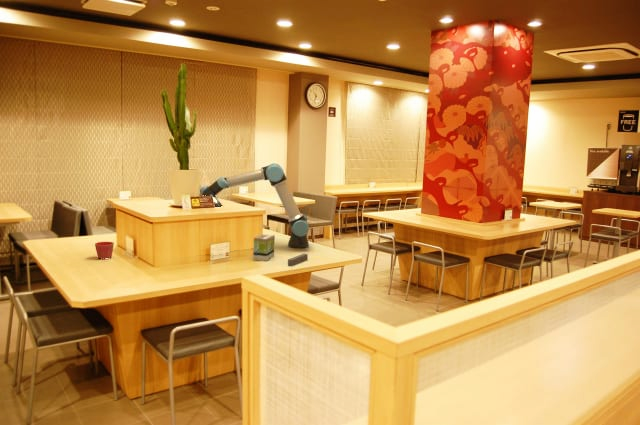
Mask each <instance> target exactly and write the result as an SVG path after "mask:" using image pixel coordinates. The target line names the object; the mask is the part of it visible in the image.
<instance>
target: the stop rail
mask: <svg viewBox="0 0 640 425" xmlns="http://www.w3.org/2000/svg"><path fill="white" fill-rule="evenodd" d="M308 256H309V255H308V253H301V254H298V255H296V256H294V257H291V258H288V259H287V266H288V267H294V266H297V265H299V264H301V263H304V262H307V261H308V258H309V257H308Z"/></svg>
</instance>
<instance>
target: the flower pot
mask: <svg viewBox="0 0 640 425" xmlns="http://www.w3.org/2000/svg"><path fill="white" fill-rule="evenodd" d="M114 245H115V244H114V242H113V241H100V242H99V241H98V242H96V243H94V246H95V251H96V255H97V258H110V257H111V258H112V256H113V251H114ZM111 258H110V259H111Z"/></svg>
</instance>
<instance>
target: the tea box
mask: <svg viewBox="0 0 640 425" xmlns="http://www.w3.org/2000/svg"><path fill="white" fill-rule="evenodd" d="M275 238H276V236H275V235H273V234H259V235H257V236H255V237H253V255H252V256H253V258H252V259H253V261H259V262H260V261H261V262H262V261H263V262H268V261H269V260H271V259H272V258H274V257H275V245H276V244H275V242H276V241H275V240H276V239H275Z"/></svg>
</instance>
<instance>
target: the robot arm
mask: <svg viewBox="0 0 640 425" xmlns="http://www.w3.org/2000/svg"><path fill="white" fill-rule="evenodd" d="M263 180H264V181H269V183H270V185H271V187H272V188H275V191H276V194H277V195H278V197H279V200H280V202H281V204H282V206H283V208H284V210H285V212H286V215H287V217H288V224H289V226H290V237H289V240H288V243H287V247H289V248H292V249H296V248H297V249H305V248H308V247H309V246H310V243H309V240H308V236H307V235H308V232H309V230H310V225H309V223H308V216H307V215H305V214H304V213H302V212H300V210H299V207H298V206H297V205H298V204H297V202H296V201H295V199H294V196H293V194H292V192H291V190H290V187H289V186H288V184H287V180H288V179H287V176H286V174H285V172H284V169H283V168H282V166H281V165H280V164H278V163H270V164H269V165H267V166H262V167H261V168H260V169H255V170H251V171H247V172H243V173H238V174H234V175H230V176H226V177H223V176H220V177H219V178H218V179H216V180H215V181H214V182H213V183H211V185H209V186H208V185H204V186H201V188H200V189H199V190H200V193H199V194H200V196H201V195H204V196H205V195H206V196H212V198H213V202H214V205H215V207H221V206H223V207H224V205H223V204H222V202H221V201H220V200H219V199H218V198H217V195H218V194H219V193H221V192H222V191H223V190H224V189H228V188H232V187H237V186H241V185H246V184H249V183H254V182H258V181H263Z"/></svg>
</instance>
